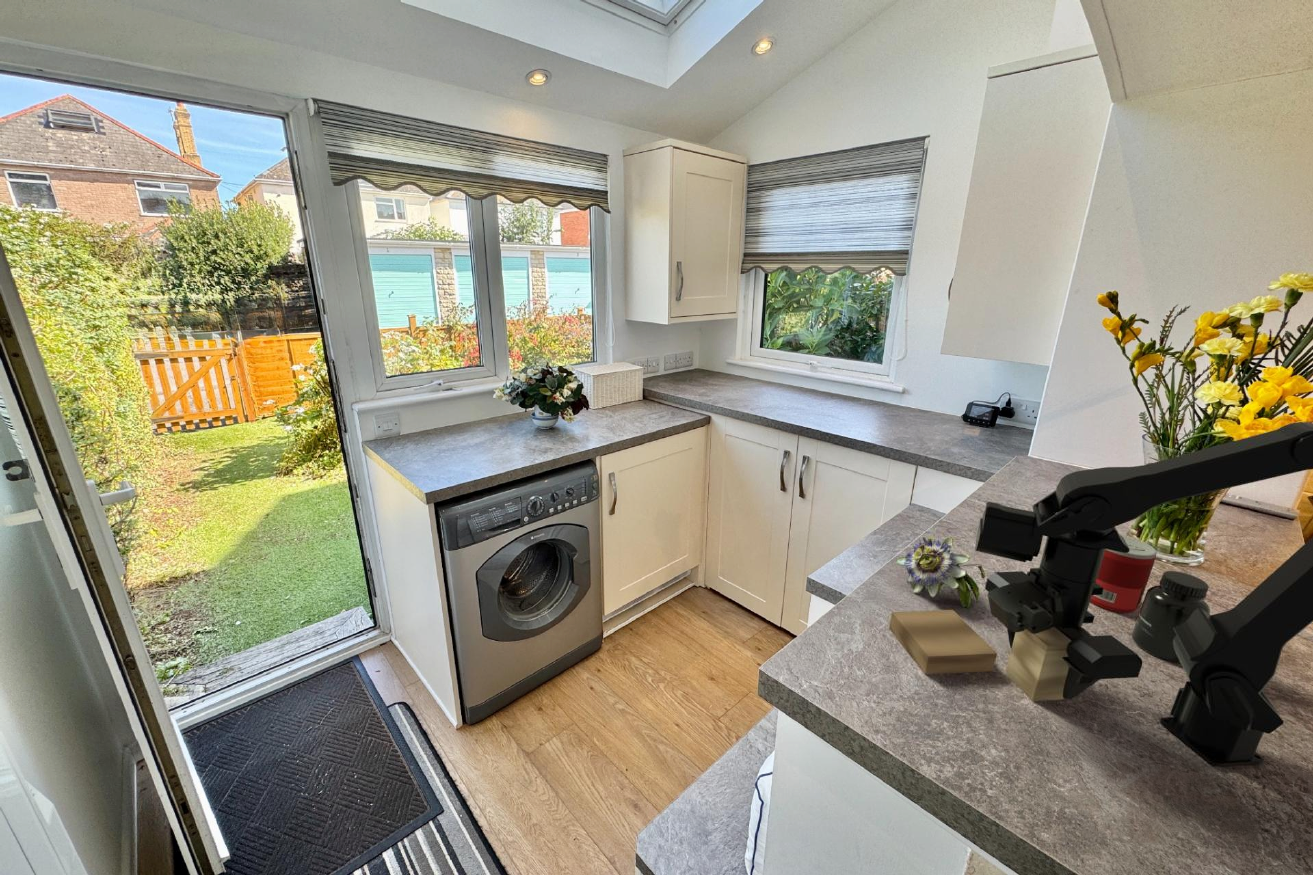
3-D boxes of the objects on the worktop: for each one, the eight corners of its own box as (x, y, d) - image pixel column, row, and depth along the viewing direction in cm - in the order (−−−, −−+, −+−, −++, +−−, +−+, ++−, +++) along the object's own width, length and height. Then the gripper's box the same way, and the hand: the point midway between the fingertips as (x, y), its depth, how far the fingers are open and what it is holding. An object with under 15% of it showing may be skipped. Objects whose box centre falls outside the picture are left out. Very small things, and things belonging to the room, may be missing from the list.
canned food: (1149, 617, 87) (1169, 558, 83) (1094, 610, 88) (1112, 552, 85) (1120, 591, 94) (1137, 535, 91) (1069, 585, 95) (1085, 530, 92)
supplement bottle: (1120, 638, 81) (1142, 570, 78) (1147, 629, 84) (1170, 562, 80) (1174, 668, 75) (1201, 596, 72) (1202, 657, 77) (1230, 587, 74)
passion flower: (913, 619, 94) (881, 557, 96) (949, 591, 99) (917, 532, 101) (969, 619, 84) (932, 549, 86) (1005, 588, 89) (969, 523, 91)
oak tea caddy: (1070, 700, 69) (1087, 644, 67) (1031, 702, 69) (1047, 646, 66) (1038, 670, 74) (1053, 617, 72) (1002, 672, 74) (1016, 619, 71)
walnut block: (992, 671, 74) (997, 653, 73) (925, 674, 73) (928, 656, 72) (949, 625, 84) (952, 609, 83) (889, 628, 83) (891, 612, 82)
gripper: (960, 537, 75) (941, 630, 79) (1069, 619, 57) (1036, 733, 61) (1034, 535, 75) (1010, 627, 80) (1164, 615, 58) (1124, 727, 62)
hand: (1039, 672), depth 71 cm, fingers open, 9 cm apart
